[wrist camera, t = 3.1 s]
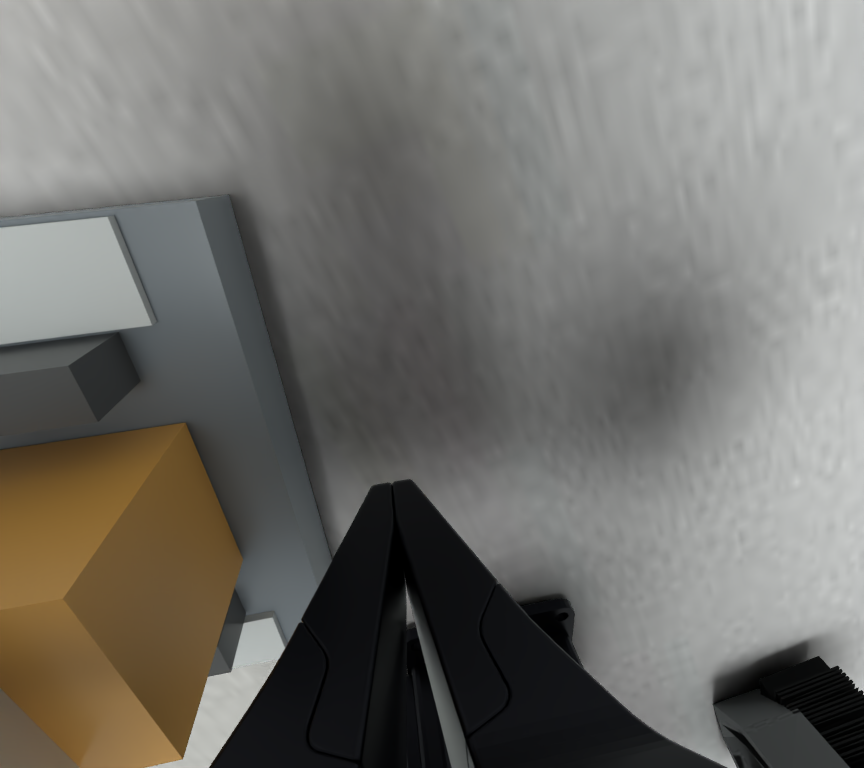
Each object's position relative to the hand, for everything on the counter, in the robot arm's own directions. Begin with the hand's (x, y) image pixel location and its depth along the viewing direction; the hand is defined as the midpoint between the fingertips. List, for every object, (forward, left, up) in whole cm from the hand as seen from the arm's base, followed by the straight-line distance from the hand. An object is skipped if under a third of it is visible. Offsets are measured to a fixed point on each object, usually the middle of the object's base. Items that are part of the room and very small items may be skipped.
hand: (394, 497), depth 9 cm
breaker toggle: (+6, 0, -1) cm, 6 cm away
